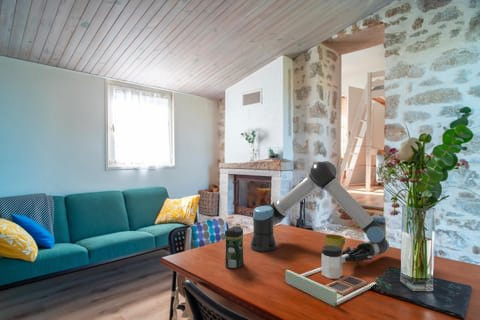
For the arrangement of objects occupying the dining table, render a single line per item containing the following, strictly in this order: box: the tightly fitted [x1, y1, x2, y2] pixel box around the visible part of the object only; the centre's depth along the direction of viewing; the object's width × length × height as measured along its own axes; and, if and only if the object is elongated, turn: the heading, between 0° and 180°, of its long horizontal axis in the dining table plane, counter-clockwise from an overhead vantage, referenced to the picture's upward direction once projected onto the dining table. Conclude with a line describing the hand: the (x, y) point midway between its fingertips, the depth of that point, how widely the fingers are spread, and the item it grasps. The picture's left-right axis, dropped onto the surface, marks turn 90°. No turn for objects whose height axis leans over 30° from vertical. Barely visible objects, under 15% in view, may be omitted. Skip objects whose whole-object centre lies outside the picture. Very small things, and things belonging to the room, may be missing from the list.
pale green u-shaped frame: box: [284, 266, 377, 307], centre depth 117 cm, size 28×24×5 cm
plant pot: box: [324, 233, 346, 252], centre depth 153 cm, size 10×10×10 cm
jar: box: [321, 245, 343, 280], centre depth 126 cm, size 9×8×12 cm
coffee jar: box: [224, 225, 245, 270], centre depth 138 cm, size 10×8×19 cm
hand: (339, 260), depth 128 cm, fingers closed
